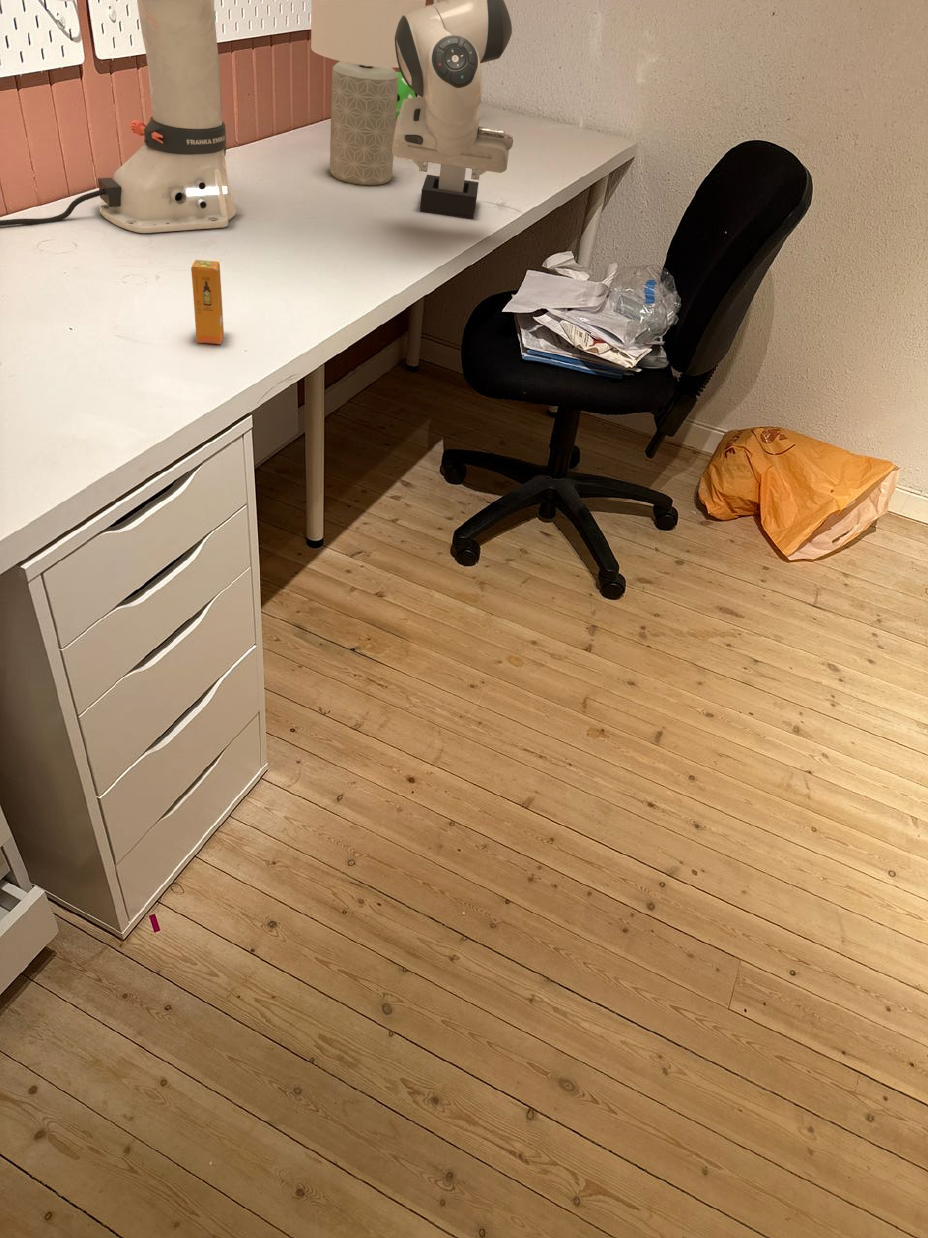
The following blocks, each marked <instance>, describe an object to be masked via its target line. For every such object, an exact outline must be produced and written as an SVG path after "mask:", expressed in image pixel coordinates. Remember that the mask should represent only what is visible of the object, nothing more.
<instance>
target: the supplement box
mask: <svg viewBox="0 0 928 1238" xmlns="http://www.w3.org/2000/svg"><path fill="white" fill-rule="evenodd" d="M190 272H191V282H192V295H193V309H194V324H195V340H196V343H198V344H199V343H201V344H213V345H214V344H215V345H222V342H223V339H224V336H225V330H224V329H225V328H224V313H223V311H224V309H223V295H222V279H221V277H222V276H221V266H220V261H217V260H202V259H195V260H194V261H193V263H192V265H191V267H190Z"/></svg>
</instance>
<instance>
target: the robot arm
mask: <svg viewBox="0 0 928 1238" xmlns="http://www.w3.org/2000/svg"><path fill="white" fill-rule="evenodd" d="M136 1H137V3H136V4H137V10H138V17H139V24H140V30H141V35H142V40H143V45H144V52H145V56H146V63H147V73H148V84H149V93H150V94H149V95H150V106H151V107H150V108H151V117H150V118H149V121H148V123H147V124H146V123H144V122H142V121H141V120H139V119H133V120H132V121H131V123H130V131H132V133H133V134H135V135H136V134H137V135H138V136H140V137H143V136H144V139H143V144H142V145H141V147H140V148H139V149H137V150H136V151H135V152H134V153H133V154H132V155H131V156H130V157H129V158H128V159H127V160H126V161H125V162H124V163H123V164H122V165H120V167H118V168H117V169H116V170H115V171H114V174H113V178H112V177H97V184H98V189H97V190H95V191H91V192H89V193H86V194H83V195H80V196H78V197H77V198H75V199H74V200H73V201H72V202H71V203H70V204H69V205H68V207H67V208H66V210H65V211H64V212H62V213H60V214H58V215H55V216H52V217H51V216H50V217H44V218H11V219H0V227H5V226H15V225H43V224H50V223H56V222H60V221H63V220H65V219H67V218H69V216H71V214H72V213H73V212H74V210H75V208H76V207H77V206H79V205H80V204H82V203H83V202H86V201H88V200H90V199H94V198H97V197H99V198H100V199H101V200H102V201H101V202H100V203H99V213H100V215H101V216H102V217H103V218H105V219H106V220H107V221H109V222H110V223H112V224H114V225H115V226H118V227H119V228H122V229H124V230H128V231H130V232H135V233H139V234H151V233H165V232H177V231H193V230H194V231H195V230H207V229H220V228H221V229H222V228H227V227H228V226H229V221H230V220H231V219H233V218H234V217H235V216H236V214H237V210H236V206H235V203H234V200H233V197H232V193H231V188H230V183H229V177H228V172H227V171H228V170H227V162H226V154H227V134H226V133H227V132H226V124H225V122H224V120H223V105H222V104H223V103H222V102H223V101H222V83H221V82H222V80H221V66H220V58H219V49H218V39H217V27H216V16H215V15H216V14H215V0H136ZM512 35H513V25H512V19H511V15H510V12H509V9H508V7H507V5H506V2H505V0H443V1H440V2H438V3H437V2H435V3H433V4H428V5H425V7H423V8H420V9H417V10H415V11H412V12H410V13H408V14H406V15H403V16H402V17H401V19H400V21H399V23H398V26H397V29H396V33H395V50H396V57H397V62H398V65H399V72H401V74H402V76H403V78H404V80H405V82H406V83H407V85H408V86H409V87H410V88H411V89H412V90H413V91H414V92H415V93H416V94H418V95H417V96H418V97H417V98H407V99H404V100H403V103H402V106H401V110H400V114H399V115H398V117H397V120H396V124H395V130H394V136H393V144H392V154H393V157H394V156H395V157H396V158H397V159H403V160H410V161H412V162H413V163H414V164H415V165H416V166H417V167H418V172H423V173H428V167H429V163H431V164H437V165H441V164H443V165H450V166H457V167H463V168H466V169H470V170H471V175H470V179H471V180H476V181H480V177H481V176H482V175H483V174H485V173H486V172H491V173H497V174H503V173H504V172H505V171H507V169H508V163H509V154H510V150H511V149H512V148H513V144H514V138H513V136H512V135H510V134H509V133H506V131H505V130H502V129H500V128H493V127H488V126H487V127H486V126H481V125H480V115H481V111H480V110H481V109H480V106H481V102H482V96H483V73H482V65H481V64H484V63H488V62H491V61H495V60H499V59H500V58H501V57H502V55H503V53H504V52H505V50H506V48H507V47H508V45H509V43H510V40H511V37H512ZM479 125H480V126H479Z"/></svg>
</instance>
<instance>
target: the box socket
mask: <svg viewBox="0 0 928 1238" xmlns="http://www.w3.org/2000/svg"><path fill="white" fill-rule="evenodd" d="M439 176H440V175H433V174H426V177H425V179H424V182H423V185H422V188H421V195H420V208H419V212H422V213H429V214H434V215H435V214H436V215H442V216H450V217H457V218H462V219H470V220H474V217H475V212H476V205H477V200H478V190H479V181H473V180H466V179H465V180H464V189H463V192H457V191H450V190H443V189H438V187H439Z"/></svg>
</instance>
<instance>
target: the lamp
mask: <svg viewBox="0 0 928 1238" xmlns="http://www.w3.org/2000/svg"><path fill="white" fill-rule="evenodd" d="M426 3H427V0H311V17H310V18H311V22H310V24H311V25H310V26H311V27H310V29H311V30H310V49H311V51H312V52H313V53H315V54H317V55H319V56H321V57H325V58H326V59H331V60H334V61H338V62H336V63H335V64H334V65H333V66H332V68H331V102H330V104H331V105H330V140H329V141H330V143H329V144H330V145H329V172H330V174H331V175H332V177H334V178H335V179H337V180H339V181H341V182H345V183H349V184H352V185H360V186H381V185H385V184H387V183H389V182H390V181H391V180H392V178H393V167H394V155H393V154H392V144H393V136H394V130H395V124H396V110H397V94H398V79H399V75H398V74H397V73H396V72H397V71H396V70H395V69H398V68H399V65H398V62H397V57H396V50H395V33H396V29H397V26H398V23H399V21H400V19H401V17H402V16H403V15H406V14H408V13H410V12H412V11H415V10H417V9H420V8H423V7H425V6H427V5H426ZM394 68H395V69H394Z"/></svg>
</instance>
